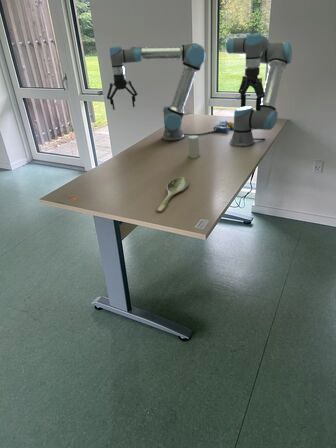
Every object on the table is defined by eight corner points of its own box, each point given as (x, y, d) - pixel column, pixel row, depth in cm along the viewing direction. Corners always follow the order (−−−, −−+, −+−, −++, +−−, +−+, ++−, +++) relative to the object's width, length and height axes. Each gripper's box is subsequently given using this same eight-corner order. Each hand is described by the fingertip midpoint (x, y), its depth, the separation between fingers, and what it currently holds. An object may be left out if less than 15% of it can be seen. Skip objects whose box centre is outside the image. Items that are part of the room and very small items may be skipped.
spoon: (170, 216, 152) (169, 212, 151) (148, 213, 156) (148, 209, 155) (192, 180, 179) (192, 176, 178) (173, 178, 182) (173, 175, 181)
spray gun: (238, 125, 262) (220, 124, 268) (238, 119, 260) (220, 119, 266) (230, 133, 247) (211, 133, 253) (230, 128, 244) (211, 127, 251)
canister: (187, 156, 214) (186, 136, 207) (196, 154, 216) (195, 134, 209) (192, 158, 209) (191, 139, 202) (201, 156, 211) (200, 137, 204)
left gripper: (100, 76, 208) (106, 111, 219) (139, 72, 213) (143, 106, 224) (98, 75, 214) (104, 109, 225) (136, 71, 219) (140, 104, 230)
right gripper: (232, 66, 185) (232, 106, 196) (261, 70, 166) (259, 113, 177) (244, 64, 188) (242, 104, 199) (273, 68, 168) (270, 111, 179)
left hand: (123, 108), depth 224 cm, fingers open, 13 cm apart
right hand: (250, 108), depth 188 cm, fingers open, 13 cm apart
